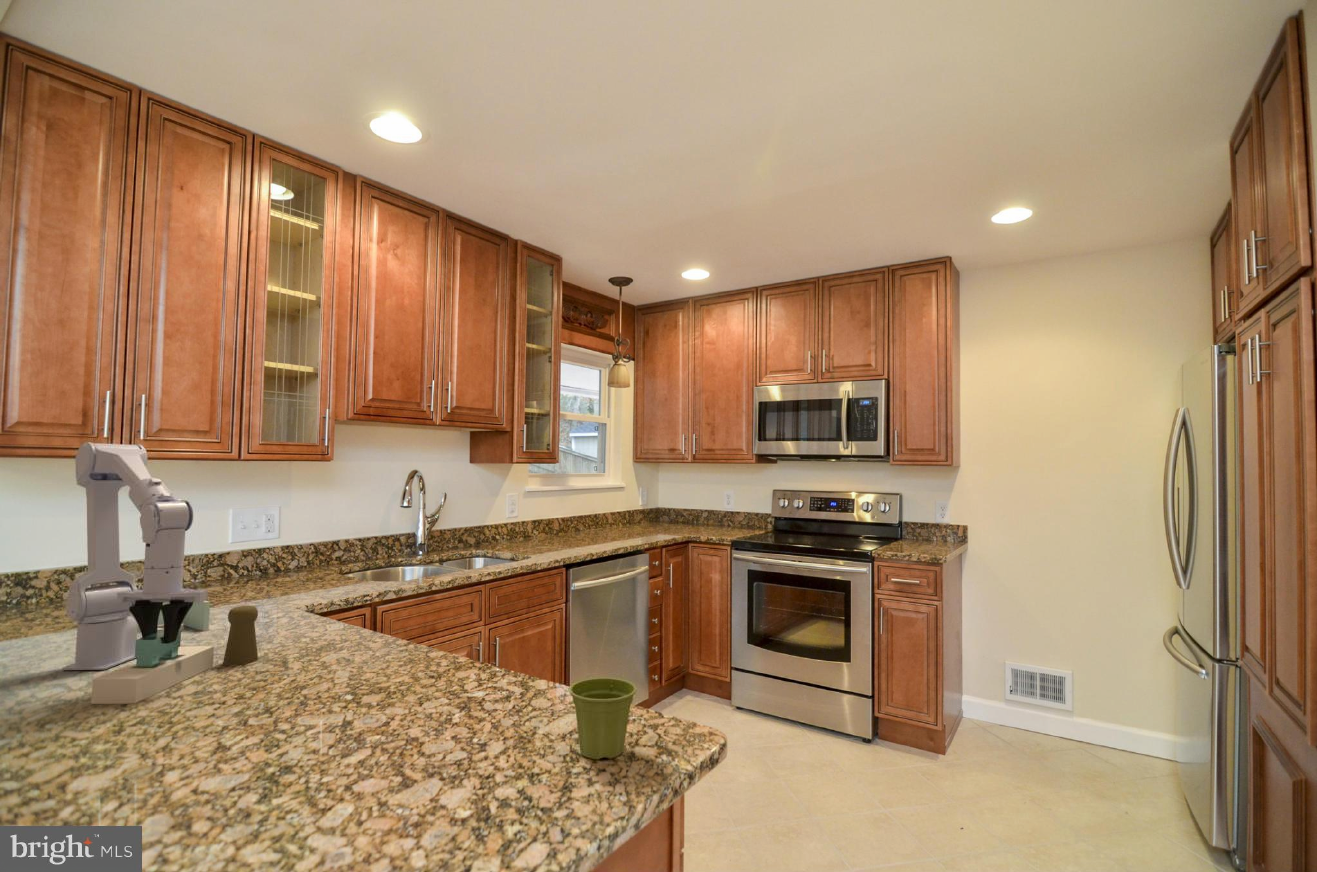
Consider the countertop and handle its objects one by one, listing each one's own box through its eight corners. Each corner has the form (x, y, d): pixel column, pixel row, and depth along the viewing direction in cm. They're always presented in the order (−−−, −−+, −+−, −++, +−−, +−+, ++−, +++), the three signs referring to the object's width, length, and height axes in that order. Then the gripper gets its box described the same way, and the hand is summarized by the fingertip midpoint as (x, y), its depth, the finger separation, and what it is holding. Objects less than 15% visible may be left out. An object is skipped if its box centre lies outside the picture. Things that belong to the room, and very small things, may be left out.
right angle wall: (127, 636, 150) (129, 604, 150) (185, 626, 160) (187, 596, 160) (148, 643, 143) (150, 610, 144) (208, 632, 153) (210, 601, 154)
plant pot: (594, 732, 95) (595, 673, 95) (648, 746, 90) (648, 684, 91) (554, 755, 87) (555, 691, 87) (610, 772, 82) (611, 704, 83)
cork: (240, 666, 125) (243, 610, 126) (215, 664, 126) (218, 608, 127) (265, 657, 131) (267, 604, 132) (240, 655, 132) (243, 602, 133)
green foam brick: (162, 660, 118) (164, 630, 118) (179, 660, 118) (181, 630, 118) (133, 671, 111) (135, 640, 111) (151, 671, 111) (153, 639, 111)
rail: (176, 667, 124) (177, 646, 125) (212, 666, 125) (213, 646, 125) (91, 703, 104) (92, 679, 105) (135, 703, 105) (136, 678, 105)
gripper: (104, 570, 111) (100, 648, 111) (190, 570, 112) (186, 647, 111) (135, 564, 118) (131, 638, 118) (215, 564, 119) (212, 637, 118)
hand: (159, 642), depth 115 cm, fingers closed on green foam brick, 3 cm apart
